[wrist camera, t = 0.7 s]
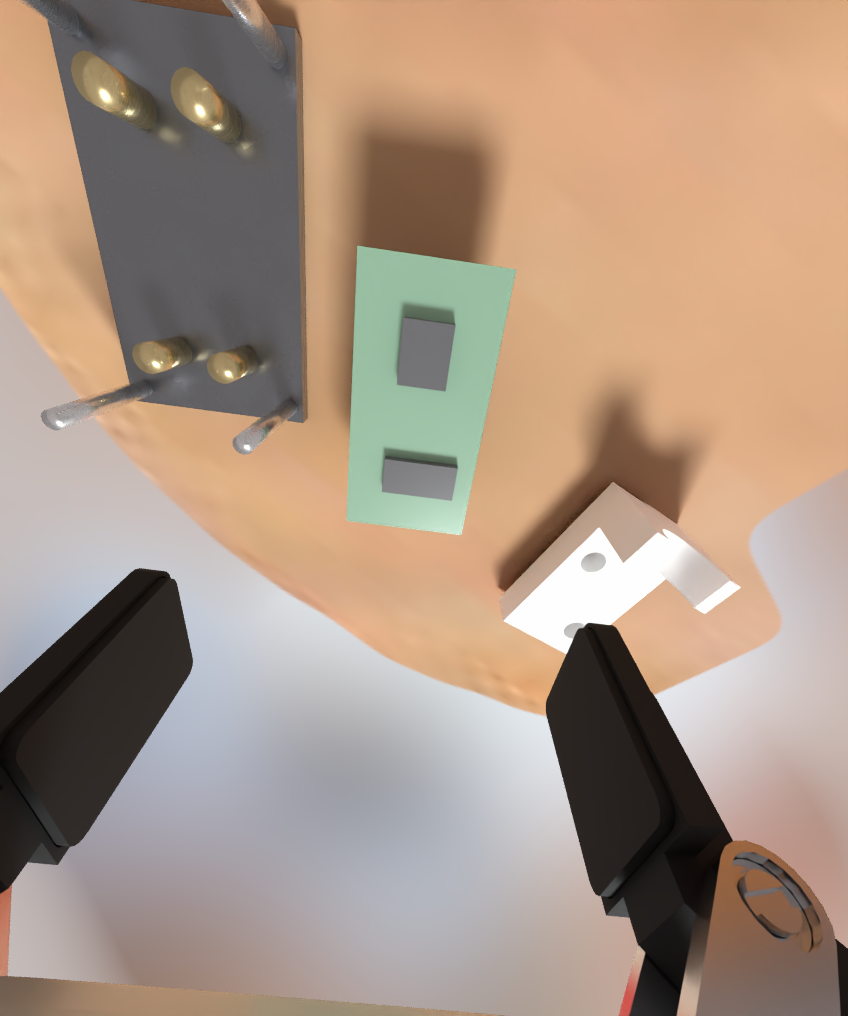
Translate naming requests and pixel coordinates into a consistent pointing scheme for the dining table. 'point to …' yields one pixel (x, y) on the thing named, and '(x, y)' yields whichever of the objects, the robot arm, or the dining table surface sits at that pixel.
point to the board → (421, 385)
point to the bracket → (610, 570)
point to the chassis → (192, 202)
